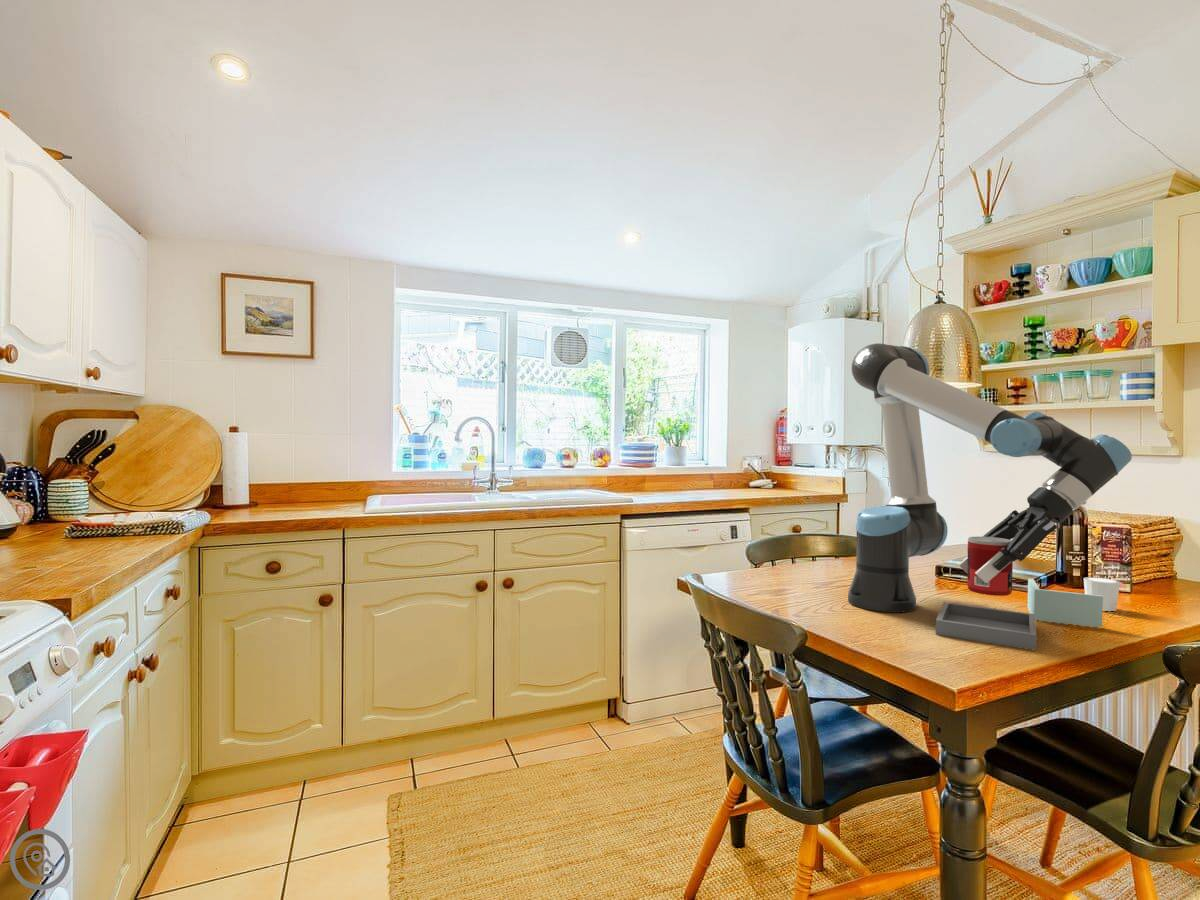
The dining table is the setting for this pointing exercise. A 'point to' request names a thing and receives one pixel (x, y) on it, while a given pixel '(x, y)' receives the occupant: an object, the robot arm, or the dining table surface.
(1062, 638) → the dining table surface
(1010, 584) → the canned food
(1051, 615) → the l-shaped corner panel
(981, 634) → the gray square tray
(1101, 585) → the white cup
